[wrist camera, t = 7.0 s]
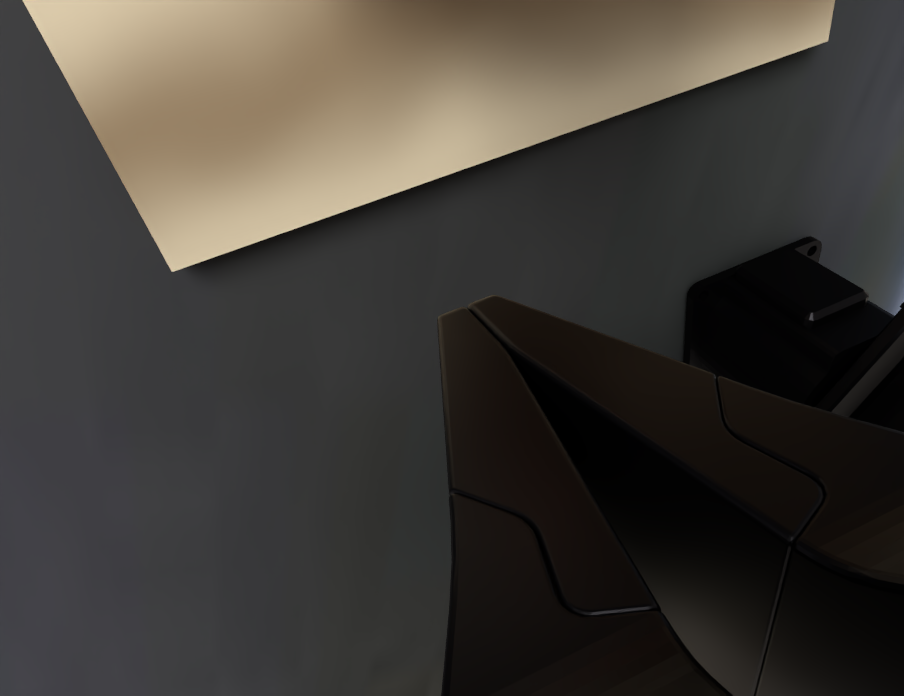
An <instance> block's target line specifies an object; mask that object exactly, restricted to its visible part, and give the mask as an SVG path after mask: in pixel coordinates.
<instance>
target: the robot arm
mask: <svg viewBox="0 0 904 696" xmlns="http://www.w3.org/2000/svg"><path fill="white" fill-rule="evenodd" d="M821 247H822V243H821V242H820V241H819V240H817V239H815V238H813V237H811V236H810V237H806V238H803V239H801V240H798V241H796V242H794V243H791V244H789V245H786V246H784V247H781V248H779V249H777V250H774V251H772V252H769V253H767V254H764V255H762V256H760V257H757V258H755V259H752V260H750V261H747V262H745V263H742V264H740V265H738V266H735V267H733V268H730V269H728V270H725V271H723V272H721V273H718V274H716V275H713V276H711V277H708V278H706V279H704V280H701V281H699V282H697V283H695V284H694V285H693V286H692V287H691V288H690V289H689V291H688V295H687V310H686V329H685V348H684V363H683V362H680V361H677V360H675V359H672V358H669V357H666V356H663V355H661V354H658V353H655V352H652V351H650V350H647V349H644V348H641V347H639V346H636V345H633V344H630V343H628V342H625V341H622V340H619V339H617V338H614V337H611V336H608V335H605V334H603V333H600V332H597V331H594V330H592V329H589V328H586V327H583V326H581V325H578V324H575V323H572V322H570V321H567V320H564V319H561V318H559V317H556V316H553V315H550V314H547V313H545V312H542V311H539V310H536V309H534V308H531V307H528V306H525V305H523V304H520V303H517V302H514V301H512V300H509V299H506V298H503V297H501V296H497V295H491V296H488V297H486V298H483V299H481V300H478V301H476V302H473V303H471V304H469V305H468V307H467V308H465V307H460V308H458V309H455V310H452V311H450V312H447V313H445V314H442V315H440V316H439V317H438V319H437V325H438V340H439V354H440V369H441V383H442V398H443V413H444V427H445V442H446V456H447V471H448V485H449V494H450V497H449V506H450V520H451V552H452V566H451V585H450V604H449V617H448V628H447V639H446V650H445V661H444V671H443V682H442V693H441V696H904V302H903V303H902V304H901V306H900V307H901V310H900V311H899V312H898V313H897V314H896V315H895V316H894V315H892V314H890V313H889V312H887V311H885V310H883V309H882V308H880V307H878V306H877V305H875V304H873V303H872V302H870V301H868V297H869V294H868V293H867V292H866V291H865V290H863V289H862V288H860V287H858V286H856V285H855V284H853V283H851V282H850V281H848V280H846V279H844V278H843V277H841V276H839V275H838V274H836V273H834V272H832V271H831V270H829V269H827V268H826V267H824V266H822V265H820V264H819V263H818V262H819V257H820V252H821Z"/></svg>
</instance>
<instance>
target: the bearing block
mask: <svg viewBox="0 0 904 696" xmlns="http://www.w3.org/2000/svg"><path fill="white" fill-rule="evenodd" d="M23 2H24V4H25V5H26V7H27V9H28V11H29V13H30V15H31V16H32V18H33V20H34V22H35V24H36V25H37V27H38V29H39V31H40V33H41V35H42V36H43V38H44V40H45V42H46V44H47V45H48V47H49V49H50V51H51V53H52V55H53V56H54V58H55V60H56V62H57V64H58V65H59V67H60V69H61V71H62V73H63V75H64V76H65V78H66V80H67V82H68V84H69V85H70V87H71V89H72V91H73V93H74V95H75V96H76V98H77V100H78V102H79V104H80V105H81V107H82V109H83V111H84V113H85V115H86V116H87V118H88V120H89V122H90V124H91V126H92V127H93V129H94V131H95V133H96V135H97V136H98V138H99V140H100V142H101V144H102V146H103V147H104V149H105V151H106V153H107V155H108V156H109V158H110V160H111V162H112V164H113V166H114V167H115V169H116V171H117V173H118V175H119V176H120V178H121V180H122V182H123V184H124V186H125V187H126V189H127V191H128V193H129V195H130V196H131V198H132V200H133V202H134V204H135V206H136V207H137V209H138V211H139V213H140V215H141V216H142V218H143V220H144V222H145V224H146V226H147V227H148V229H149V231H150V233H151V235H152V236H153V238H154V240H155V242H156V244H157V246H158V247H159V249H160V251H161V253H162V255H163V256H164V258H165V260H166V262H167V264H168V266H169V267H170V269H171V271H172V272H174V271H177V270H179V269H182V268H185V267H188V266H191V265H194V264H196V263H199V262H202V261H205V260H208V259H211V258H213V257H216V256H219V255H222V254H225V253H228V252H231V251H233V250H236V249H239V248H242V247H245V246H248V245H250V244H253V243H256V242H259V241H262V240H265V239H267V238H270V237H273V236H276V235H279V234H282V233H284V232H287V231H290V230H293V229H296V228H299V227H302V226H304V225H307V224H310V223H313V222H316V221H319V220H321V219H324V218H327V217H330V216H333V215H336V214H338V213H341V212H344V211H347V210H350V209H353V208H355V207H358V206H361V205H364V204H367V203H370V202H373V201H375V200H378V199H381V198H384V197H387V196H390V195H392V194H395V193H398V192H401V191H404V190H407V189H409V188H412V187H415V186H418V185H421V184H424V183H426V182H429V181H432V180H435V179H438V178H441V177H444V176H446V175H449V174H452V173H455V172H458V171H461V170H463V169H466V168H469V167H472V166H475V165H478V164H480V163H483V162H486V161H489V160H492V159H495V158H498V157H500V156H503V155H506V154H509V153H512V152H515V151H517V150H520V149H523V148H526V147H529V146H532V145H534V144H537V143H540V142H543V141H546V140H549V139H551V138H554V137H557V136H560V135H563V134H566V133H569V132H571V131H574V130H577V129H580V128H583V127H586V126H588V125H591V124H594V123H597V122H600V121H603V120H605V119H608V118H611V117H614V116H617V115H620V114H622V113H625V112H628V111H631V110H634V109H637V108H640V107H642V106H645V105H648V104H651V103H654V102H657V101H659V100H662V99H665V98H668V97H671V96H674V95H676V94H679V93H682V92H685V91H688V90H691V89H693V88H696V87H699V86H702V85H705V84H708V83H711V82H713V81H716V80H719V79H722V78H725V77H728V76H730V75H733V74H736V73H739V72H742V71H745V70H747V69H750V68H753V67H756V66H759V65H762V64H764V63H767V62H770V61H773V60H776V59H779V58H782V57H784V56H787V55H790V54H793V53H796V52H799V51H801V50H804V49H807V48H810V47H813V46H816V45H818V44H821V43H824V42H827V41H828V38H829V32H830V26H831V20H832V14H833V9H834V3H835V0H23Z"/></svg>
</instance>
